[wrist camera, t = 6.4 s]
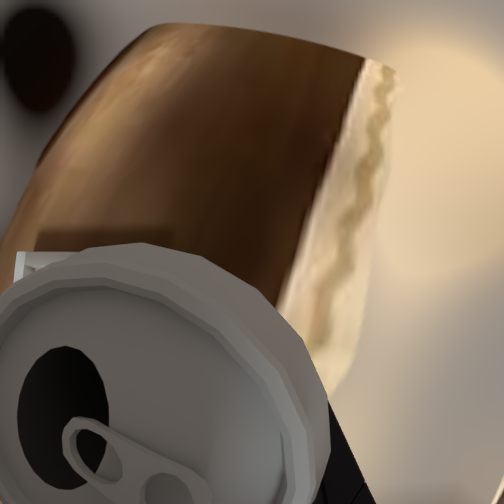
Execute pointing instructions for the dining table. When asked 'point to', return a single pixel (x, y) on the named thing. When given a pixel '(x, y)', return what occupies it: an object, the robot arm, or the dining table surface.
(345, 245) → the dining table surface
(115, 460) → the can
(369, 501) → the robot arm
